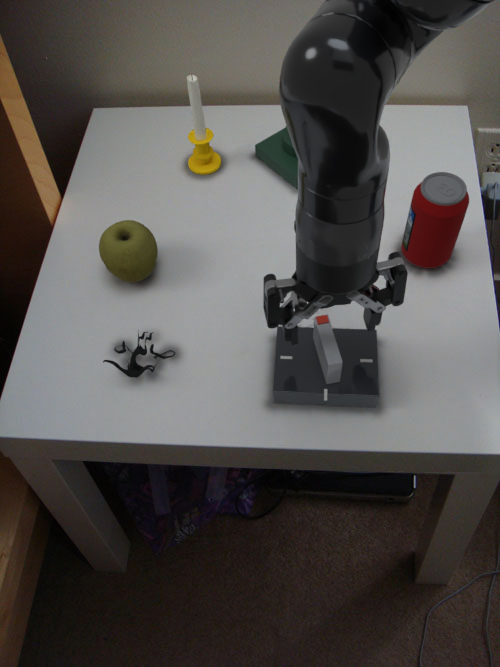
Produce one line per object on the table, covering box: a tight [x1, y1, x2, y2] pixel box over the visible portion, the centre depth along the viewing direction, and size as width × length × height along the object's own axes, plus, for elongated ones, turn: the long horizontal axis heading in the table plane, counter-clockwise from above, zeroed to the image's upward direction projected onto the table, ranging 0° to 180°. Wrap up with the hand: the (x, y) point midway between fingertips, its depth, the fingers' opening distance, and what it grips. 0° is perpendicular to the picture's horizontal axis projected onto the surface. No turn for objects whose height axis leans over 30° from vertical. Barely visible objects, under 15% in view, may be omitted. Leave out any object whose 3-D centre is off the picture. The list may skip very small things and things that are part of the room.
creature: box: [102, 329, 176, 379], centre depth 73 cm, size 8×5×8 cm
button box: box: [254, 125, 298, 190], centre depth 92 cm, size 12×10×4 cm
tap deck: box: [272, 325, 380, 409], centre depth 71 cm, size 12×11×3 cm
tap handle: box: [313, 314, 343, 384], centre depth 68 cm, size 6×2×5 cm, turn 11°
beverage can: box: [400, 171, 470, 269], centre depth 77 cm, size 7×7×12 cm
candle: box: [186, 73, 222, 176], centre depth 88 cm, size 5×5×16 cm
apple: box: [98, 219, 159, 283], centre depth 80 cm, size 8×8×7 cm
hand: (331, 331), depth 66 cm, fingers open, 8 cm apart
